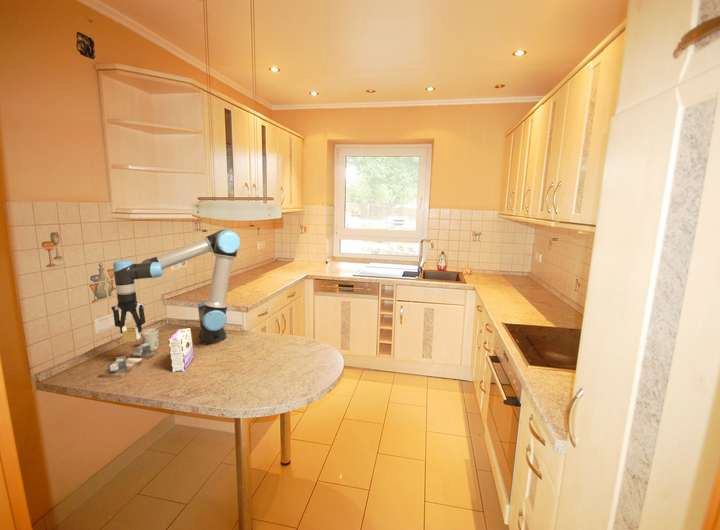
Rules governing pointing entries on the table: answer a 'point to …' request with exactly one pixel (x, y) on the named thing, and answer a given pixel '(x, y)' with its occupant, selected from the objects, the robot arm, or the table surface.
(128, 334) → the block
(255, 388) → the table surface
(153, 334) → the mug
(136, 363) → the shaft bed
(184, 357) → the candy box
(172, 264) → the robot arm
